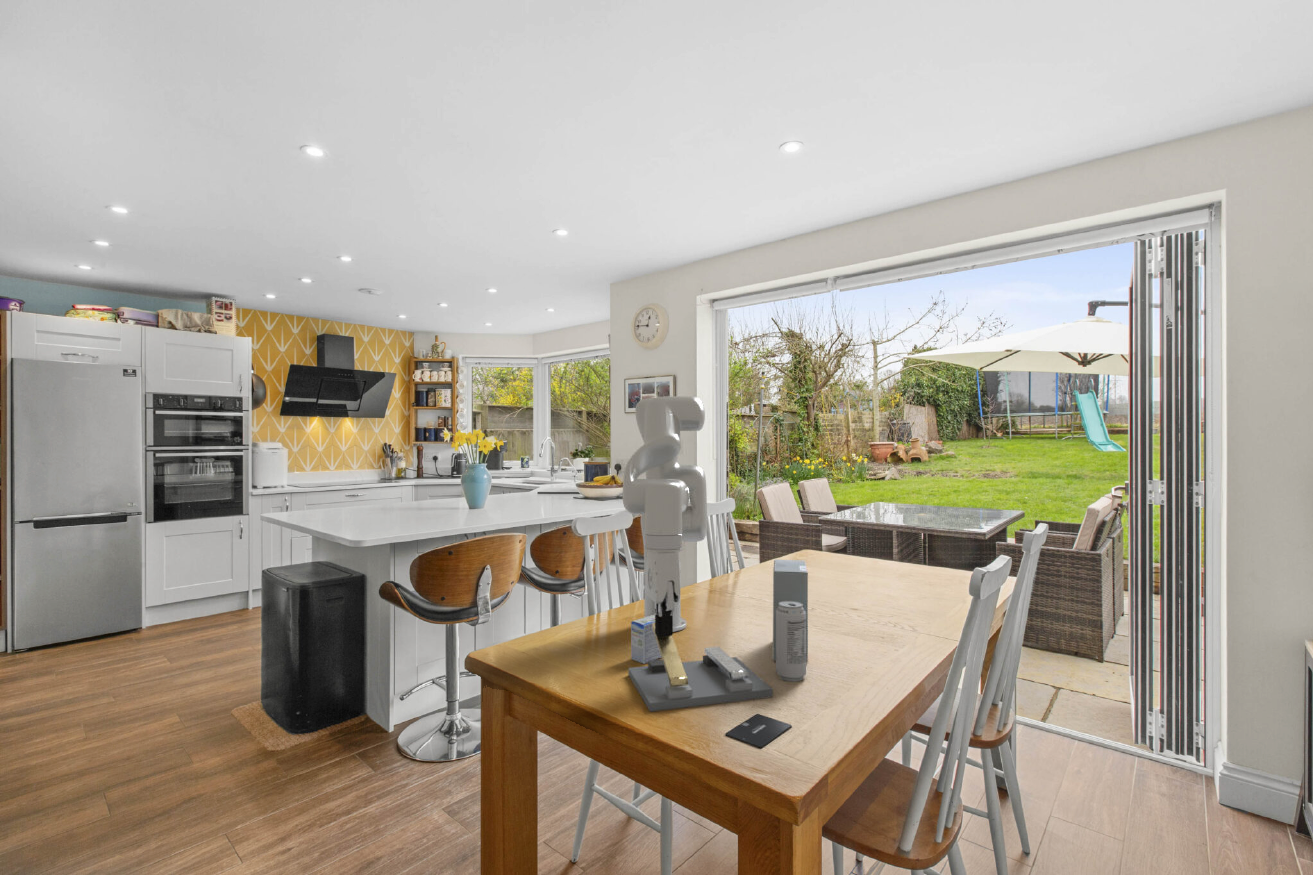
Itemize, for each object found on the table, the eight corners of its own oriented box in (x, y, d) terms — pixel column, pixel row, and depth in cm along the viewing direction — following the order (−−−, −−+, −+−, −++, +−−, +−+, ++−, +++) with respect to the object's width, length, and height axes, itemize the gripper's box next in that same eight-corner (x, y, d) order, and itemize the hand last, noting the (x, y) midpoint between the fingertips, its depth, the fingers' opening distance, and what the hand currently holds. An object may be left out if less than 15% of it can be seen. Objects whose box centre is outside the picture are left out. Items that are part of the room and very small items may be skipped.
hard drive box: (808, 664, 133) (808, 572, 133) (772, 662, 134) (772, 571, 135) (805, 641, 148) (805, 559, 148) (773, 640, 150) (773, 558, 150)
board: (628, 675, 127) (628, 661, 127) (736, 663, 134) (736, 650, 134) (650, 711, 110) (650, 695, 110) (772, 696, 116) (772, 681, 116)
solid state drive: (724, 737, 101) (724, 733, 101) (757, 717, 109) (757, 713, 109) (760, 751, 96) (760, 747, 96) (792, 729, 104) (792, 724, 104)
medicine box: (655, 651, 142) (655, 613, 142) (669, 655, 139) (669, 617, 139) (630, 659, 137) (630, 620, 137) (644, 664, 133) (644, 624, 134)
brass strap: (687, 687, 114) (688, 680, 113) (670, 689, 113) (672, 682, 112) (666, 626, 127) (667, 620, 126) (651, 627, 126) (652, 621, 126)
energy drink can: (795, 669, 130) (795, 598, 130) (812, 680, 124) (811, 605, 124) (770, 673, 128) (770, 601, 128) (786, 684, 122) (786, 608, 122)
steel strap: (748, 679, 116) (748, 671, 116) (732, 681, 115) (732, 673, 115) (718, 652, 131) (718, 645, 132) (704, 653, 131) (704, 646, 131)
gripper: (636, 539, 129) (637, 626, 129) (655, 548, 115) (655, 647, 114) (670, 537, 131) (671, 624, 131) (693, 547, 117) (693, 644, 116)
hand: (663, 635), depth 122 cm, fingers closed
